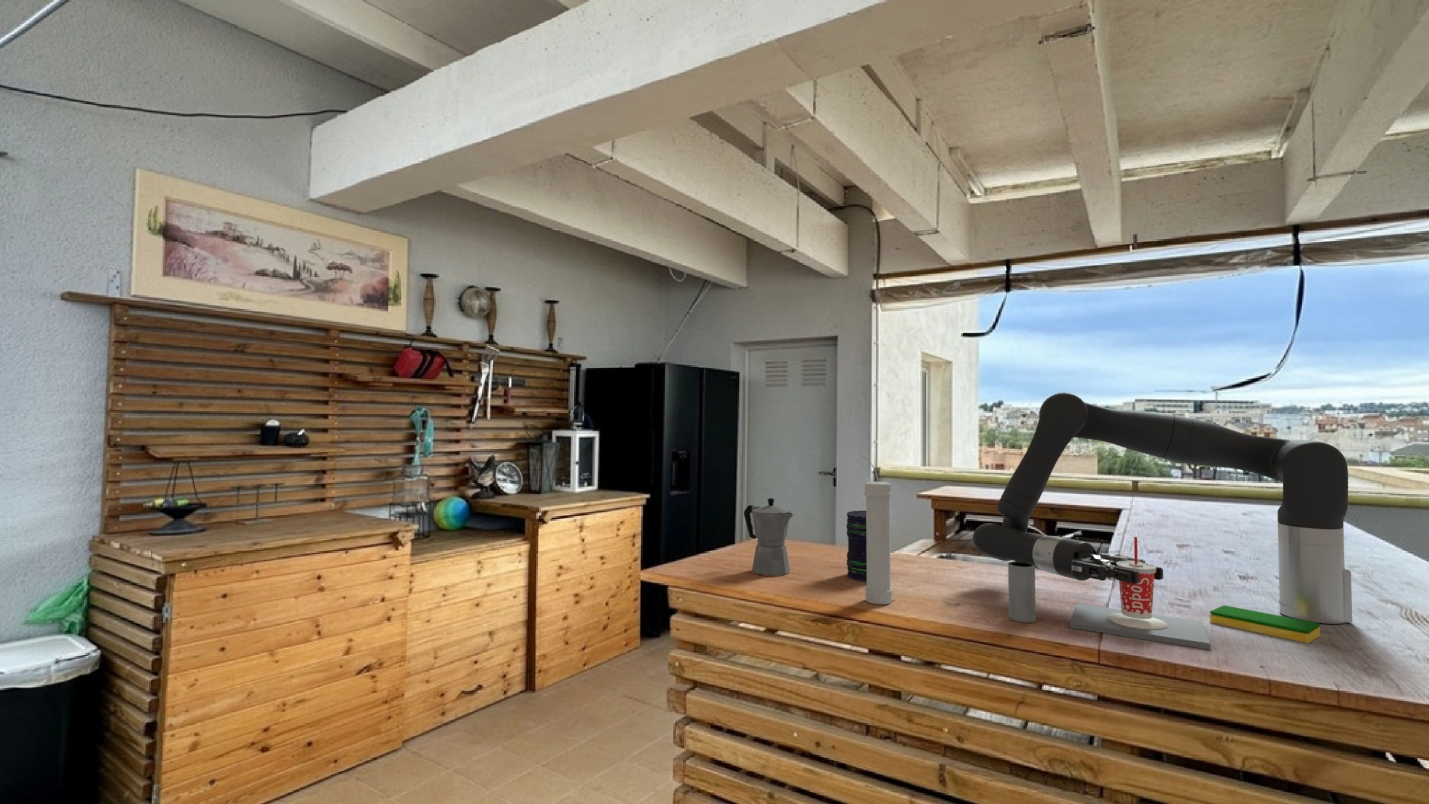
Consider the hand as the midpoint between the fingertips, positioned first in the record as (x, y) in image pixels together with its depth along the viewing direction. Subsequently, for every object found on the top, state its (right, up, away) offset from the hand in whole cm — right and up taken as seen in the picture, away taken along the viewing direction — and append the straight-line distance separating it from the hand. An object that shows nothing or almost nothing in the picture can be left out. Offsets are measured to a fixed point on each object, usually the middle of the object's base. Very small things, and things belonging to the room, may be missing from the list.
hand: (1149, 576), depth 115 cm
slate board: (-1, -10, +2) cm, 10 cm away
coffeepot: (-64, -11, +45) cm, 79 cm away
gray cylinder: (-19, -10, +7) cm, 23 cm away
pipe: (-44, -10, +18) cm, 48 cm away
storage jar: (-41, -11, +39) cm, 57 cm away
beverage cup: (-1, -8, +2) cm, 8 cm away
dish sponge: (+21, -10, +1) cm, 24 cm away
